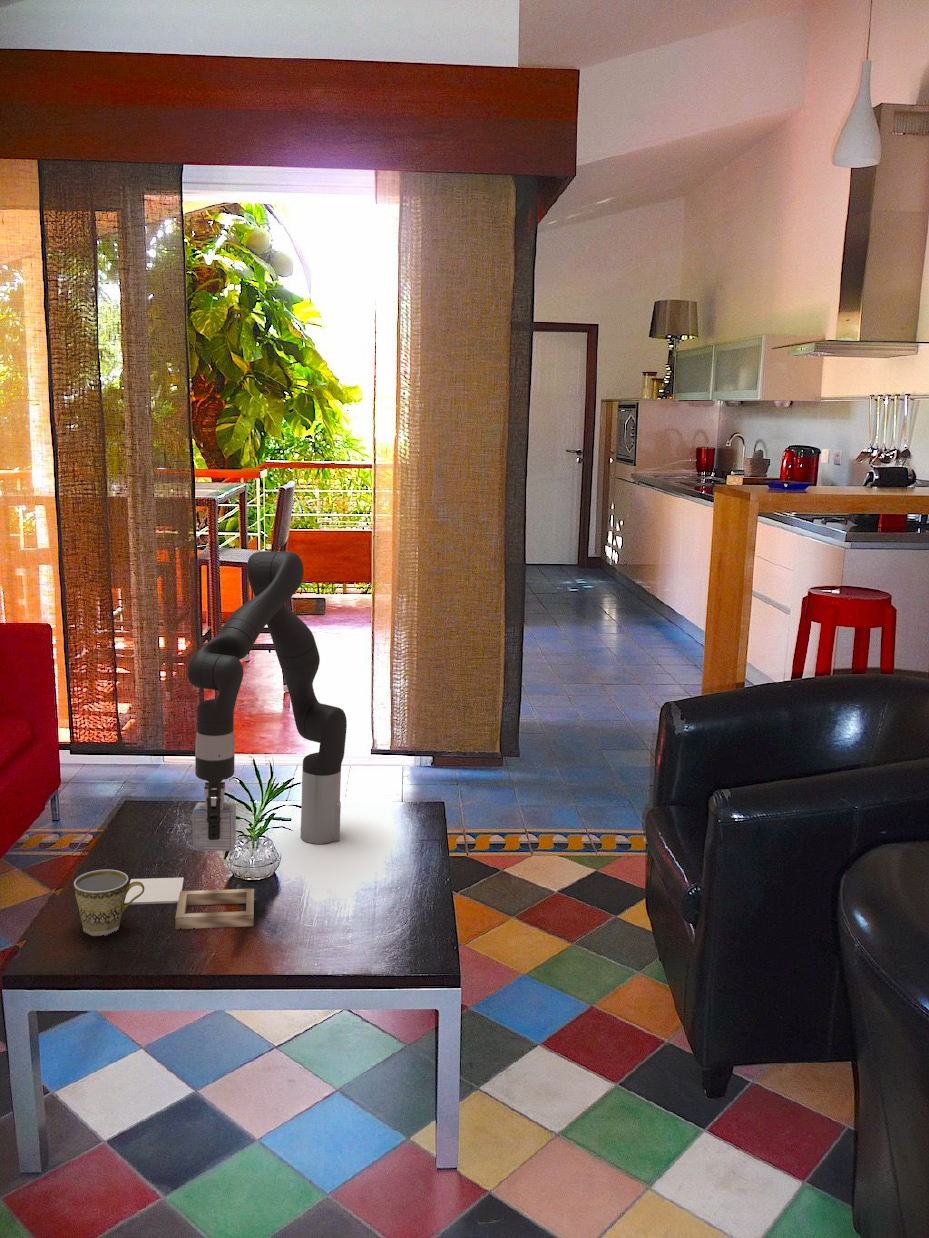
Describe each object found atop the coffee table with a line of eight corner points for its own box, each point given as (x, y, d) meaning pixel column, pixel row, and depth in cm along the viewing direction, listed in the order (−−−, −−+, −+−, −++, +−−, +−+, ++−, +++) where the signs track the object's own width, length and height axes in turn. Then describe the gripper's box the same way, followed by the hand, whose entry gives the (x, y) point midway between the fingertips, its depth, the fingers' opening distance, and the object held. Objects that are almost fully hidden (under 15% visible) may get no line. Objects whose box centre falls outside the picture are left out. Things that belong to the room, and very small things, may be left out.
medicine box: (236, 843, 206) (236, 802, 205) (232, 852, 202) (232, 811, 200) (196, 841, 206) (197, 801, 204) (192, 850, 202) (192, 809, 200)
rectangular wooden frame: (253, 899, 213) (254, 888, 213) (253, 926, 202) (253, 914, 202) (179, 902, 210) (180, 891, 210) (175, 929, 199) (175, 917, 199)
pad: (183, 879, 220) (183, 877, 220) (179, 902, 210) (179, 900, 210) (130, 881, 218) (130, 879, 218) (124, 904, 208) (124, 902, 208)
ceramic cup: (70, 941, 192) (69, 892, 190) (79, 916, 202) (78, 869, 200) (141, 938, 195) (141, 890, 193) (147, 914, 204) (147, 867, 202)
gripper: (233, 764, 194) (233, 847, 197) (235, 741, 208) (234, 819, 211) (193, 765, 193) (193, 849, 196) (197, 741, 206) (197, 820, 210)
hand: (214, 833), depth 203 cm, fingers closed on medicine box, 5 cm apart
